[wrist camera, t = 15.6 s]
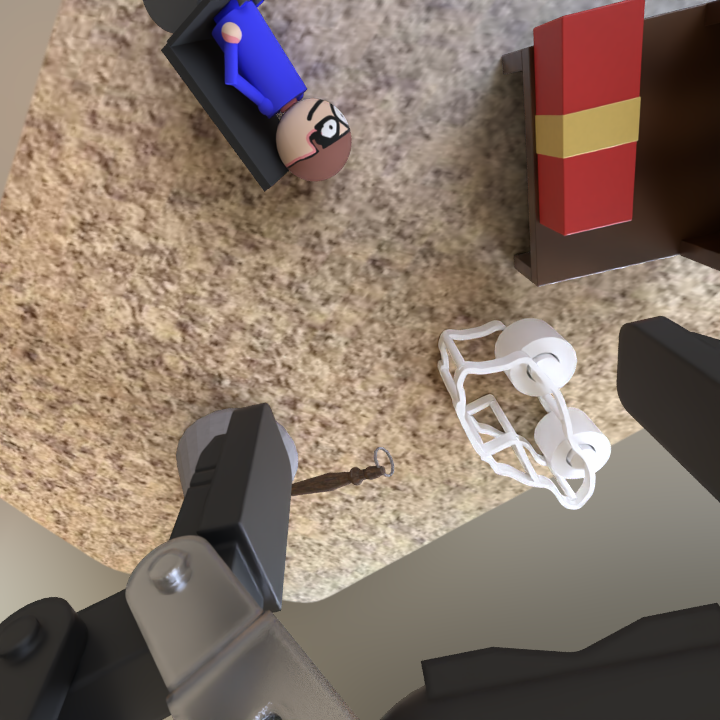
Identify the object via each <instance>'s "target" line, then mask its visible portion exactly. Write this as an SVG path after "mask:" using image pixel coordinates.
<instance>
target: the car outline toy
mask: <svg viewBox="0 0 720 720" xmlns="http://www.w3.org/2000/svg"><path fill="white" fill-rule="evenodd" d="M498 330H501V331H503V332H502V333H501V334H500V335H499V337H498V339H497V342H496V344H495V352H494V353H495V357H496V359H494V360H489V361H483V362H472V361H464V359H463V357H462V355H461V354H460V352H459V350H458V348H457V347H456V345H455V343H454V341H453V340H452V339H454V340H469V339H474V338H479V337H484V336H487V335H489V334H491V333H493V332H495V331H498ZM438 347H439V350H440V353H441V360H439V361H438V370H439V372H440V374H441V377H442V379H443V382H444V384H445V386H446V388H447V390H448V392H449V394H450V396H451V398H452V403H453V406H454V408H455V411H456V413H457V415H458V418H459V420H460V422H461V425H462V427H463V428H464V430H465V432H466V434H467V436H468V438H469V440H470V442H471V444H472V446H473V447H474V449H475V450H476V452H477V453H478V454H479V455H480V457H481V459H482V460H483V461H486V462H488V463H489V464H490V465H491V467H492V468H493V470H494V472H495V473H496V474H498V475H503V476H509V477H511V478H514V479H516V480H518V481H519V482H521V483H523V484H526V485H529V486H533V487H542V488H547V489H549V490H551V491H552V492H553V493H554V494H555V495H556V497H557V499H558V500H559V502H560V503H561V504H562V505H563V506H564V507H566V508H568V509H578V508H581V507H582V506H583V505H584V504H585V503H586V502H587V500H588V499H589V498H590V497H591V495H592V494H593V491H594V488H595V472H596V471H598V470H599V469H600V468H601V467H602V466H603V465H604V464H605V463H606V461H607V460H608V458H609V456H610V451H611V446H610V442H609V441H608V439H607V438H606V436H605V435H604V434H603V433H602V432H601V431H600V430H599V428H598V427H597V426H596V425H595V424H594V423H593V422H592V420H591V419H590V418H589V417H588V416H587V415H586V413H585V412H583V411H581V410H580V409H578V408H573V407H567V406H566V403H565V400H564V398H563V395H562V393H561V391H560V390H559V389H560V388H561V387H563V386H564V385H565V384H566V383H567V382H568V381H569V380H570V379H571V377H572V375H573V373H574V371H575V368H576V363H577V358H576V352H575V350H574V349H573V347H572V346H571V344H570V343H569V342H568V341H566V340H565V339H564V338H563V337H562V336H561V335H560V334H559V333H558V332H557V331H556V330H555V329H554V328H553V327H551V326H550V325H549V324H548V323H546V322H545V321H543V320H540V319H536V318H524V319H521V320H518V321H516V322H514V323H512V324H511V325H509V326H508V327H506V326H505V325H504V324H503V323H502V322H501V321H499V320H493V321H490V322H488V323H486V324H484V325H482V326H479V327H475V328H470V329H464V330H454V329H447V330H445V331H443V332H442V333H441V336H440V339H439V343H438ZM446 348H447V350H448V352H449V354H450V356H451V357H452V359H453V361H454V363H455V365H456V367H457V368H456V371H455V374H454V381H453V378H452V376H451V374H450V372H449V360H448V355H447V353H446ZM500 371H504V372H505V374H506V375H507V377H508V378H509V379H510V381H511V382H512V384H513V385H514V386H515V388H516V389H517V390H518V391H520V392H521V393H523V394H525V395H530V396H537V398H538V400H539V401H540V403H541V405H542V406H543V407H544V409H545V410H546V411H547V412H548V414H547V415H545V416H544V417H543V418H542V419H541V420H540V421H539V423H538V425H537V426H536V428H535V433H534V438H535V442H536V444H537V445H538V447H539V448H540V450H541V451H542V453H543V455H539V454H537V453H536V452H535V450H534V449H533V447H532V446H531V444H530V443H529V441H528V440H527V439H525V438H524V437H523V436H521V435H517V434H516V432H515V430H514V429H513V427H512V425H511V424H510V422H509V420H508V419H507V417H506V415H505V414H504V412H503V410H502V409H501V407H500V405H499V404H498V402H497V400H496V399H495V397H494V396H493V395H492V394H488V395H485V396H483V397H481V398H479V399H477V400H475V401H473V402H471V403H469V404H467V405H466V396H465V390H464V388H463V382H464V379H465V377H466V376H467V374H489V373H495V372H500ZM550 393H553V395H554V398H555V399H554V398H553V397H552V395H551V394H550ZM488 406H490V407H491V408H492V410H493V412H494V414H495V416H496V417H497V419H498V421H499V423H500V424H501V426H502V428H503V430H504V431H505V433H504V432H501V431H499V430H497V429H496V428H494V427H492V426H490V425H488V424H484V423H479V422H477V421H476V419H475V418H474V416H473V415H472V414H474V413H476V412H478V411H480V410H482V409H484V408H486V407H488ZM478 432H479V433H484V434H489V435H491V436H493V437H495V439H493V440H491V441H489V442H487V443H483V441H482V439H481V437H480V435H479V433H478ZM509 446H511V447H512V449H513V451H514V452H515V454H516V456H517V458H518V460H519V461H520V463H521V465H522V467H523V468H524V470H525V472H526V473H524V472H522V471H520V470H518V469H516V468H514V467H512V466H510V465H508V464H504V463H497V462H496V461H495V460H494V458H493V457H492V455H493V454H495V453H497V452H499V451H501V450H503V449H505V448H507V447H509ZM523 446H524V447H526V448H527V449H528V450H529V451H530V453H531V454H532V456H533V457H534V459H535V460H536V461H537V462H538V463H539V464H541V465H544V466H548V468H549V469H550V471H551V473H552V474H553V476H554V477H555V479H556V480H557V482H558V484H559V485H560V487H561V488H562V490H563V491H564V493H565V495H566V496H567V497H565V496H563V495H561V494H560V492H559V491H558V489H557V487H556V486H555V484H554V483H553V482H552V481H551V480H550V479H548V478H547V477H545V476H543V475H537V474H536V472H535V470H534V468H533V467H532V465H531V463H530V461H529V459H528V457H527V455H526V453H525V450H524V448H523ZM583 477H584V481H583V484H582V486H581V487H580V488H579V490H578V491H577V492H576V494H575V493H574V492H573V490H572V489H571V487H570V486H569V484H568V483H567V481H566V480H565V478H568V479H579V478H583Z"/></svg>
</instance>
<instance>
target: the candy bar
mask: <svg viewBox="0 0 720 720" xmlns="http://www.w3.org/2000/svg"><path fill="white" fill-rule="evenodd" d="M644 7H645V0H626V1H622V2H618V3H614V4H610V5H606V6H602V7H598V8H594V9H590V10H586V11H582V12H578V13H574V14H570V15H566V16H562V17H560V18H557V19H555V20H552V21H550V22H547V23H545V24H542V25H540V26H537V27H535V28H534V29H533V34H534V64H535V94H536V115H535V129H536V153H537V154H538V185H539V215H540V224H542V225H544V226H546V227H548V228H550V229H552V230H554V231H556V232H558V233H560V234H562V235H564V236H566V235H570V234H574V233H579V232H583V231H587V230H592V229H596V228H600V227H605V226H609V225H613V224H618V223H622V222H626V221H631V220H632V212H633V195H634V178H635V161H636V144H637V141H638V134H639V117H640V101H641V97H639V93H640V76H641V59H642V42H643V25H644Z"/></svg>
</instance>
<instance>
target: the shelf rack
mask: <svg viewBox="0 0 720 720" xmlns="http://www.w3.org/2000/svg"><path fill="white" fill-rule="evenodd" d="M502 63H503V74H509V73H514V72H518V71H523V88H524V111H525V135H526V158H527V181H528V205H529V228H530V251H531V252H527V253H522V254H518V255H514V263H515V269H516V270H518V271H519V272H520V273H521V274H523V275H524V276H525V277H526V278H528V279H529V280H530V281H531V282H532V283H534V284H535V285H536V286H537V287H539V286H543V285H547V284H552V283H556V282H561V281H565V280H570V279H574V278H578V277H583V276H587V275H592V274H596V273H600V272H605V271H609V270H614V269H618V268H623V267H627V266H631V265H636V264H640V263H645V262H649V261H653V260H658V259H662V258H667V257H671V256H676V255H681V256H683V257H686V258H688V259H691V260H693V261H696V262H698V263H701V264H704V265H706V266H709V267H711V268H714V269H716V270H719V271H720V0H716V1H712V2H709V3H705V4H701V5H697V6H693V7H689V8H685V9H681V10H677V11H672V12H668V13H664V14H660V15H656V16H652V17H648V18H644V25H643V42H642V59H641V76H640V93H639V97H641V101H640V117H639V134H638V141H637V144H636V161H635V178H634V195H633V212H632V220H631V221H626V222H622V223H618V224H613V225H609V226H605V227H600V228H596V229H592V230H587V231H583V232H579V233H574V234H570V235H566V236H564V235H562V234H560V233H558V232H556V231H554V230H552V229H550V228H548V227H546V226H544V225H542V224H540V215H539V185H538V154H537V153H536V129H535V115H536V94H535V64H534V46H531V47H527V48H524V49H521V50H518V51H515V52H512V53H509V54H506V55H503V56H502Z"/></svg>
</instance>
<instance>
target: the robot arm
mask: <svg viewBox="0 0 720 720" xmlns="http://www.w3.org/2000/svg"><path fill="white" fill-rule="evenodd" d="M617 392H618V396H619V398H620V401H621V403H622V405H623V407H624V408H625V409H626V411H627V412H628V413H629V414H630V415H631V416H632V417H633V418H634V419H635V420H636V421H637V422H638V423H639V424H640V425H641V426H643V427H644V428H645V429H646V430H647V431H648V432H649V433H650V434H651V435H652V436H653V437H654V438H655V439H656V440H657V441H658V442H659V443H660V444H661V445H662V446H663V447H664V448H665V449H666V450H667V451H668V452H669V453H670V454H671V455H672V456H673V457H674V458H675V459H676V460H677V461H678V462H679V463H680V464H681V465H682V466H683V467H684V468H685V469H686V470H687V471H688V472H690V474H691V475H692V476H693V477H694V478H695V479H697V480H698V482H699V483H700V484H701V485H702V486H704V487H705V488H706V489H707V490H708V491H709V492H710V493H711V494H712V495H713V496H714V497H715V498H716V499H717V500H718V501H719V502H720V340H718V339H715V338H712V337H708V336H705V335H701V334H698V333H695V332H690V331H688V330H686V329H685V328H683V327H681V326H680V325H678V324H676V323H675V322H673V321H671V320H670V319H668V318H666V317H664V316H658V317H653V318H649V319H644V320H640V321H635V322H631V323H626V324H624V325H623V326H622V327H621V329H620V333H619V346H618V365H617ZM189 485H190V488H188V490H187V492H186V495H185V498H184V501H183V503H182V506H181V509H180V512H179V514H178V517H177V520H176V523H175V526H174V528H173V531H172V534H171V537H170V539H169V541H167V542H165V543H163V544H161V545H160V546H158V547H157V548H155V549H154V550H152V551H151V552H150V553H149V554H148V555H146V556H145V557H144V558H143V559H142V560H141V561H140V563H139V564H138V565H137V566H136V568H135V569H134V570H133V572H132V574H131V576H130V577H129V580H128V583H127V586H126V589H124V590H122V591H120V592H118V593H116V594H114V595H112V596H110V597H108V598H106V599H104V600H101V601H99V602H97V603H95V604H93V605H91V606H89V607H87V608H85V609H83V610H81V611H79V612H75V611H74V609H73V608H72V607H71V606H70V605H69V603H68V602H67V601H66V600H64V599H62V598H58V597H49V598H44V599H41V600H37V601H35V602H33V603H30V604H28V605H26V606H24V607H23V608H21V609H19V610H18V611H16V612H15V613H13V614H12V615H10V616H9V617H8V618H7V619H5V620H4V621H3V622H2V623H1V624H0V720H163V719H164V718H166V717H168V716H170V715H172V717H173V719H174V720H359V718H357V716H356V715H355V713H354V712H353V711H352V710H351V709H350V707H349V706H348V705H347V704H346V702H345V701H344V700H343V699H342V697H341V696H340V695H339V694H338V693H337V691H336V690H335V689H334V688H333V686H332V685H331V684H330V683H329V682H328V680H327V679H326V678H325V676H324V675H323V674H322V673H321V672H320V670H319V669H318V668H317V667H316V665H315V664H314V663H313V662H312V660H311V659H310V658H309V657H308V656H307V654H306V653H305V652H304V651H303V649H302V648H301V647H300V646H299V644H298V643H297V642H296V641H295V640H294V638H293V637H292V636H291V635H290V633H289V632H288V631H287V630H286V628H285V627H284V626H283V625H282V624H281V622H280V621H279V620H278V619H277V617H276V616H275V615H274V614H273V612H278V611H281V605H282V593H283V581H284V570H285V558H286V547H287V535H288V523H289V512H290V500H291V488H292V471H291V464H290V460H289V456H288V453H287V450H286V448H285V445H284V442H283V440H282V437H281V434H280V432H279V429H278V426H277V423H276V421H275V418H274V415H273V413H272V410H271V408H270V406H269V405H268V403H261V404H257V405H252V406H248V407H243V408H239V409H235V410H234V411H233V412H232V415H231V419H230V422H229V425H228V428H227V432H226V434H221V435H217V436H215V437H214V438H213V439H212V440H211V441H210V443H209V444H208V445H207V446H206V447H205V448H204V450H203V451H202V452H201V454H200V456H199V459H198V462H197V465H196V467H195V473H193V476H192V479H191V481H190V484H189ZM421 664H422V669H423V675H424V681H425V685H424V686H422V687H420V688H419V689H417V690H415V691H413V692H411V693H410V694H409V695H407V696H406V697H404V698H403V699H402V700H400V701H399V702H398V703H396V704H395V705H394V706H393V707H392V708H391V709H390V710H389V711H388V712H387V713H386V714H385V715H384V716H383V717H382V718H381V719H380V720H720V606H719V605H718V603H714V604H708V605H703V606H699V607H693V608H688V609H683V610H678V611H673V612H668V613H663V614H657V615H652V616H648V617H643V618H641V619H639V620H637V621H635V622H633V623H631V624H630V625H628V626H626V627H624V628H622V629H620V630H619V631H617V632H615V633H613V634H611V635H609V636H607V637H606V638H604V639H602V640H600V641H598V642H596V643H594V644H592V645H591V646H589V647H587V648H585V649H583V650H580V651H577V652H556V651H543V650H527V649H514V648H500V647H490V648H485V649H480V650H474V651H469V652H464V653H459V654H454V655H449V656H444V657H440V658H434V659H429V660H424V661H421Z"/></svg>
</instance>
